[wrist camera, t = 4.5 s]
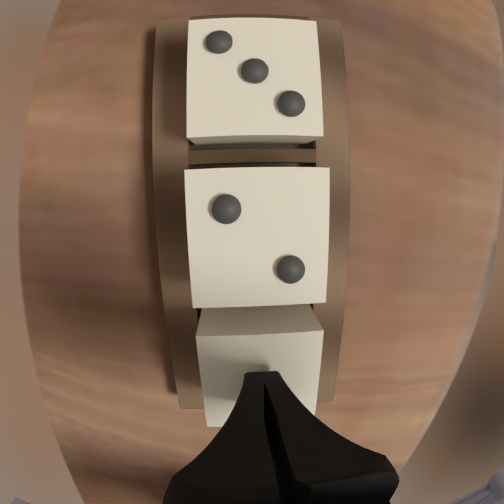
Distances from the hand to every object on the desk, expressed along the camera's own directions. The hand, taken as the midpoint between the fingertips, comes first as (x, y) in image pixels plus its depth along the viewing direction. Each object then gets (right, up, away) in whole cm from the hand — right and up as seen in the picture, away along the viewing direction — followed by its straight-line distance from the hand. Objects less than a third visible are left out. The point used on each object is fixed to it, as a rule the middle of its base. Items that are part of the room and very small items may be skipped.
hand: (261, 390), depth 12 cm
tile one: (0, +1, +3) cm, 3 cm away
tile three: (0, +13, +1) cm, 13 cm away
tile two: (0, +7, +2) cm, 7 cm away
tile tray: (0, +7, +3) cm, 8 cm away
